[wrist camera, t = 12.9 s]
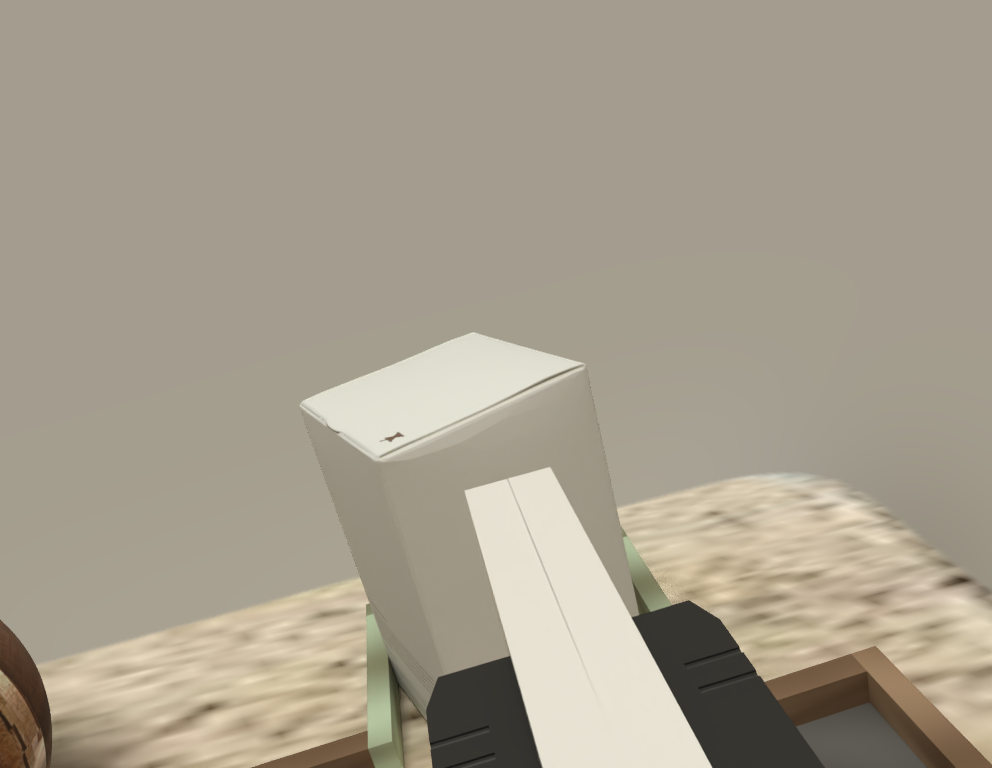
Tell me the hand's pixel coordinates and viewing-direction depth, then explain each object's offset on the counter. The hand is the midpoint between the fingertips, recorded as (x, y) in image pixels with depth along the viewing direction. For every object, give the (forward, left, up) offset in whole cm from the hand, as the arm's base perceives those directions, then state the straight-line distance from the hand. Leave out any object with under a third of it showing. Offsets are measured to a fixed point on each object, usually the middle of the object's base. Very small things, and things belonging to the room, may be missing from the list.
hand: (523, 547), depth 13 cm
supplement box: (+17, +1, -18) cm, 25 cm away
